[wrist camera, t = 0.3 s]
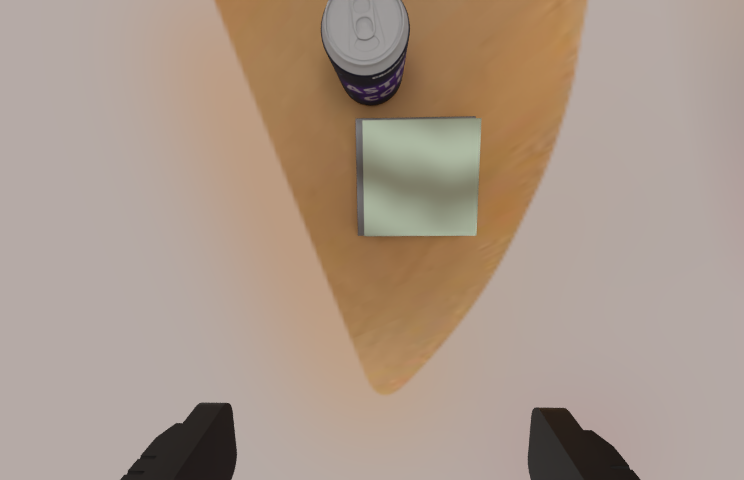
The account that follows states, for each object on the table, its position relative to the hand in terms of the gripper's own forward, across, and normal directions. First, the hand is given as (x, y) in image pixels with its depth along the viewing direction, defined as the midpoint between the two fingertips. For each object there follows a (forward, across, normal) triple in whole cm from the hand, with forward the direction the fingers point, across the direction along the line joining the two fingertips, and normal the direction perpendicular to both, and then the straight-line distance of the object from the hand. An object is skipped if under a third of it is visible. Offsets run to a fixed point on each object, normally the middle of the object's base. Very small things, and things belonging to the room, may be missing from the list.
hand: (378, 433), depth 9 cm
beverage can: (+28, +1, -15) cm, 32 cm away
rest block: (+27, -3, -6) cm, 28 cm away
